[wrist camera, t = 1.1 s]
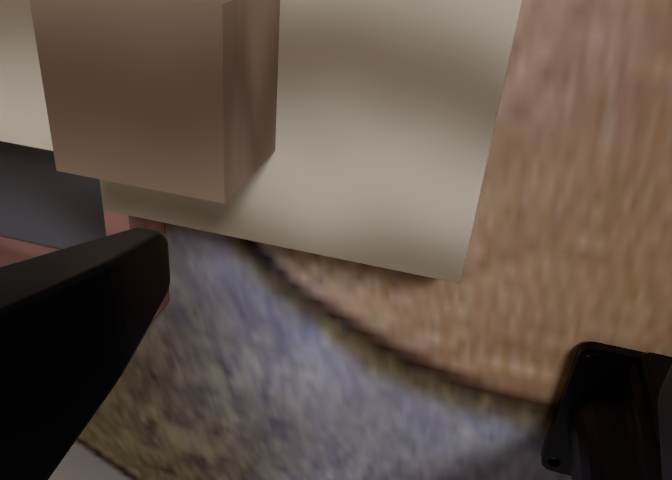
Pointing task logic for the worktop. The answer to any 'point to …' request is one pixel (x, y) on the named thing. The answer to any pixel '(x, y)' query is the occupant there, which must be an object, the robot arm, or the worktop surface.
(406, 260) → the trap deck
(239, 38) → the walnut block
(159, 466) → the worktop surface
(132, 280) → the robot arm
